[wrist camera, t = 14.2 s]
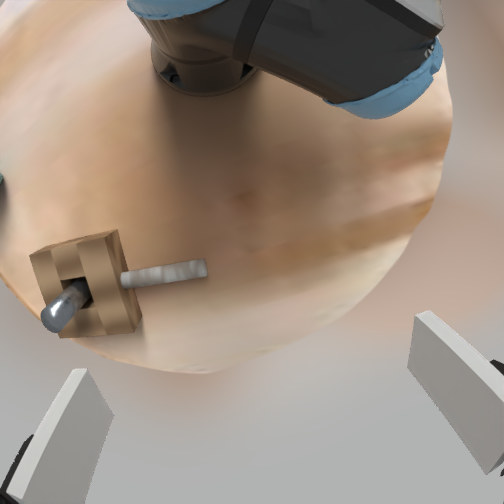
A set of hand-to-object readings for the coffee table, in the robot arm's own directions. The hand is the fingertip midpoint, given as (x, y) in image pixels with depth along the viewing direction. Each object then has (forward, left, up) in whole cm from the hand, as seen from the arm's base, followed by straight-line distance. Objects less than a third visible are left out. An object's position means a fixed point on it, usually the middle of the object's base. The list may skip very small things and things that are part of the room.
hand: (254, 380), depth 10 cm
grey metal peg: (+5, -24, -32) cm, 40 cm away
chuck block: (+5, -18, -32) cm, 37 cm away
